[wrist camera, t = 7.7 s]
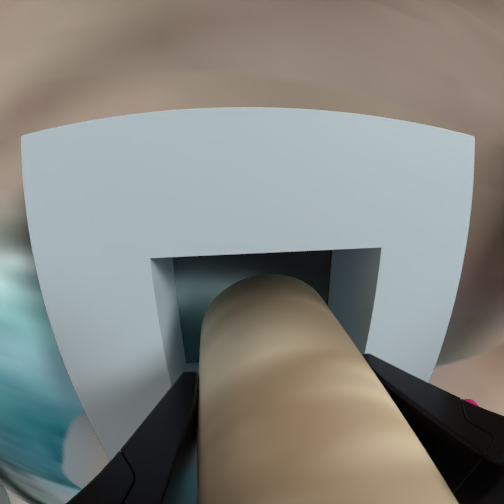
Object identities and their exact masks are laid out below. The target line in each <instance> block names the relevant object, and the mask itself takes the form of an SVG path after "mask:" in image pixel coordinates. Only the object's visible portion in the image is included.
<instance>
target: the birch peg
mask: <svg viewBox="0 0 504 504" xmlns="http://www.w3.org/2000/svg"><path fill="white" fill-rule="evenodd" d="M197 504H459V503H458V501H457V500H456V498H455V497H454V495H453V493H452V492H451V490H450V488H449V487H448V485H447V484H446V482H445V480H444V479H443V477H442V476H441V474H440V472H439V471H438V469H437V468H436V466H435V464H434V463H433V461H432V460H431V458H430V456H429V455H428V453H427V452H426V450H425V449H424V447H423V446H422V444H421V442H420V441H419V439H418V438H417V436H416V435H415V433H414V432H413V430H412V429H411V427H410V426H409V424H408V423H407V421H406V419H405V418H404V416H403V415H402V413H401V412H400V410H399V409H398V407H397V406H396V404H395V403H394V401H393V400H392V398H391V397H390V395H389V394H388V392H387V391H386V389H385V388H384V387H383V385H382V384H381V382H380V381H379V379H378V378H377V376H376V375H375V373H374V372H373V370H372V369H371V367H370V366H369V364H368V363H367V362H366V360H365V359H364V357H363V356H362V354H361V353H360V351H359V350H358V349H357V347H356V346H355V344H354V343H353V341H352V340H351V338H350V337H349V336H348V334H347V333H346V331H345V330H344V328H343V327H342V326H341V324H340V323H339V321H338V320H337V319H336V317H335V316H334V314H333V313H332V311H331V310H330V309H329V307H328V306H327V304H326V303H325V302H324V300H323V299H322V297H321V296H320V295H319V294H318V293H317V291H316V290H315V289H313V288H312V287H311V286H310V285H308V284H307V283H305V282H303V281H301V280H299V279H297V278H294V277H290V276H286V275H280V274H264V275H257V276H253V277H249V278H246V279H243V280H241V281H239V282H237V283H235V284H233V285H231V286H230V287H228V288H227V289H225V290H224V291H223V292H222V293H220V294H219V295H218V296H217V297H216V298H215V300H214V301H213V302H212V303H211V305H210V306H209V308H208V309H207V311H206V314H205V316H204V319H203V322H202V327H201V339H200V360H199V388H198V420H197Z"/></svg>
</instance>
